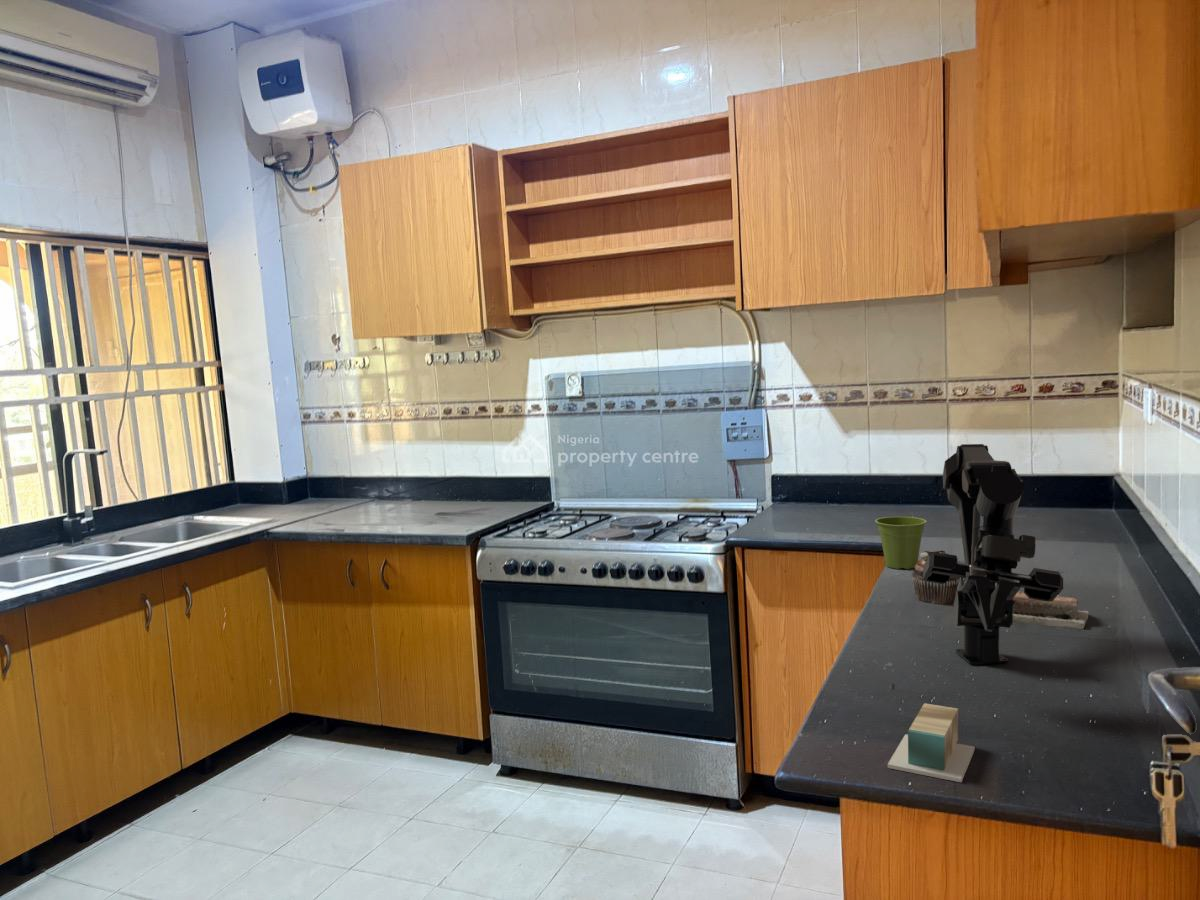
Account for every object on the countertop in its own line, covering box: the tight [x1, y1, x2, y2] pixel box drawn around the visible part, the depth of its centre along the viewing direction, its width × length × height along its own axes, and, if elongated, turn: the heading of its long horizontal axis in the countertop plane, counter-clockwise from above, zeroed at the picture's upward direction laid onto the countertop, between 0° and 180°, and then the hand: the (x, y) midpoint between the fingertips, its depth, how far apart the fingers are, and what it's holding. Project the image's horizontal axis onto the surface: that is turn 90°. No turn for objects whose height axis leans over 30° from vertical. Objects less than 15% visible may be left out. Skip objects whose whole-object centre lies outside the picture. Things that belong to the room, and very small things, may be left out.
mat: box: [887, 733, 976, 783], centre depth 118 cm, size 10×9×1 cm
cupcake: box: [911, 550, 961, 605], centre depth 189 cm, size 10×10×10 cm
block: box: [907, 703, 959, 770], centre depth 119 cm, size 4×4×10 cm
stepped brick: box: [1013, 590, 1089, 630], centre depth 174 cm, size 18×5×10 cm
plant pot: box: [874, 516, 928, 570], centre depth 217 cm, size 12×12×11 cm
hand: (989, 630), depth 131 cm, fingers closed
